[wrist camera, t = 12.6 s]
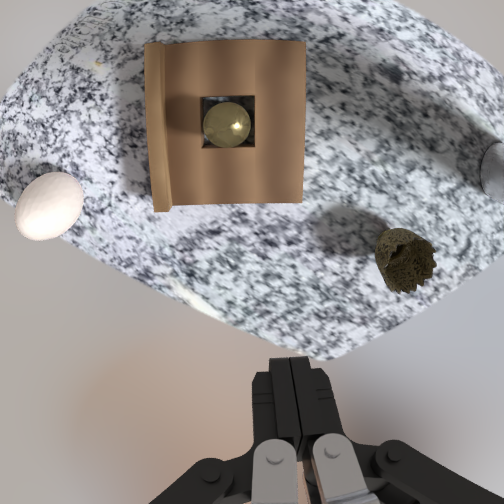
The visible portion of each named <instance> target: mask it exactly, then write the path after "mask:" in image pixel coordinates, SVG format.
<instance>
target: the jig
mask: <svg viewBox="0 0 504 504" xmlns="http://www.w3.org/2000/svg"><path fill="white" fill-rule="evenodd" d="M144 76H145V109H146V129H147V144H148V157H149V168H150V179H151V189H152V198H153V206H154V212H169V210H170V209H171V207H172V206H177V205H203V204H243V203H302V195H303V174H304V149H305V111H306V42H301V41H287V40H259V39H241V40H213V41H198V42H187V43H177V44H169V45H164V44H163V43H161V42H154V43H147V44H144ZM227 96H254V144H239V145H237V146H234V147H230V148H223V147H219V146H217V145H205V143H204V129H203V122H204V109H203V98H205V97H227Z"/></svg>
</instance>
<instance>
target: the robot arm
mask: <svg viewBox="0 0 504 504" xmlns="http://www.w3.org/2000/svg"><path fill="white" fill-rule="evenodd" d="M480 176H481V184H482V187H483V190H484V191H485V193H486V194H487V195H488V196H489V197H491V198H493V199H495V200H496V201H498V202H500V203H502V204H503V205H504V143H495V144H493V145H492V146H490V147H489V148H488V150H487V151H486V153H485V155H484V157H483V160H482V164H481V172H480ZM252 411H253V436H254V443H253V446H252V447H251V449H250V450H249V451H248V452H247V453H246V454H244V455H242V456H240V457H237V458H234V459H231V460H227V461H222V460H220V459H216V458H206V459H202V460H200V461H198V462H196V463H195V464H194V465H193V466H192V467H191V468H190V469H188V470H187V471H186V472H185V473H184V474H183V475H182V476H181V477H179V478H178V479H177V480H176V481H175V482H174V483H173V484H171V485H170V486H169V487H168V488H167V489H166V490H164V491H163V492H162V493H161V494H160V495H159V496H157V497H156V498H155V499H154V500H152V501H151V502H150V503H149V504H243V503H246V502H249V501H251V504H298V485H297V484H298V483H297V462H299V461H302V462H303V469H304V471H303V475H302V479H303V484H304V488H305V492H306V496H307V501H308V504H504V498H502V497H500V496H498V495H496V494H494V493H492V492H490V491H488V490H486V489H484V488H482V487H480V486H478V485H477V484H475V483H473V482H471V481H469V480H467V479H465V478H464V477H462V476H460V475H458V474H456V473H455V472H453V471H451V470H449V469H447V468H446V467H444V466H442V465H440V464H439V463H437V462H435V461H434V460H432V459H430V458H428V457H427V456H425V455H424V454H422V453H420V452H419V451H417V450H415V449H414V448H412V447H410V446H409V445H407V444H406V443H404V442H402V441H399V440H388V441H386V442H384V443H382V444H381V445H380V446H372V445H363V444H358V443H355V442H353V441H351V440H350V439H349V438H348V437H347V436H346V435H345V433H344V432H343V429H342V425H341V421H340V418H339V413H338V409H337V406H336V402H335V399H334V395H333V391H332V387H331V384H330V380H329V377H328V376H327V374H325V372H324V371H323V370H322V369H321V368H315V369H311V366H310V362H309V358H308V356H301V357H289V359H288V358H270V359H269V372H257V373H256V375H255V377H254V379H253V382H252Z"/></svg>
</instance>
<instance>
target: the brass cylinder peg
mask: <svg viewBox="0 0 504 504" xmlns="http://www.w3.org/2000/svg"><path fill="white" fill-rule="evenodd" d="M250 127H251V122H250V118H249V115H248V113H247V112H246V110H245V109H244V108H243V107H242V106H240V105H239V104H236V103H231V102H225V103H220V104H217V105H215V106H214V107H212V108H211V109H210V110H209V111H208V112H207V114H206V116H205V118H204V122H203V129H204V133H205V135H206V137H207V138H208V140H209V141H210V142H212V143H213V144H215V145H217V146H219V147H223V148H230V147H234V146H237V145H239V144H240V143H242V142H243V141H244V140H245V139H246V138H247V136H248V134H249V132H250Z"/></svg>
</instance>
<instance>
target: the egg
mask: <svg viewBox="0 0 504 504" xmlns="http://www.w3.org/2000/svg"><path fill="white" fill-rule="evenodd" d="M83 197H84V196H83V190H82V188H81V186H80V184H79V182H78V181H77V180H76V179H75V178H74V177H73V176H71V175H69V174H67V173H64V172H51V173H47V174H44V175H42V176H40V177H38V178H36V179H35V180H34V181H33V182H31V183H30V184H29V185H28V186H27V187H26V188H25V190H24V191H23V193H22V195H21V196H20V198H19V200H18V202H17V205H16V208H15V223H16V226H17V228H18V230H19V231H20V233H21V234H22V235H24V236H25V237H26V238H29V239H31V240H47V239H51V238H55V237H57V236H59V235H61V234H63V233H64V232H65V231H67V230H68V229H69V228H70V227H71V226H72V225H73V224H74V223H75V221H76V220H77V219H78V217H79V215H80V213H81V210H82V207H83Z"/></svg>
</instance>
